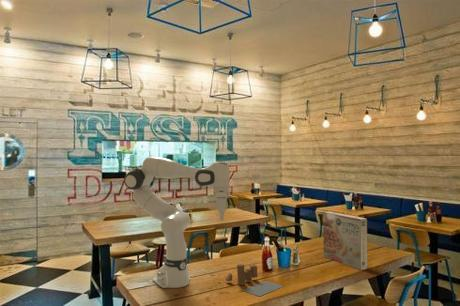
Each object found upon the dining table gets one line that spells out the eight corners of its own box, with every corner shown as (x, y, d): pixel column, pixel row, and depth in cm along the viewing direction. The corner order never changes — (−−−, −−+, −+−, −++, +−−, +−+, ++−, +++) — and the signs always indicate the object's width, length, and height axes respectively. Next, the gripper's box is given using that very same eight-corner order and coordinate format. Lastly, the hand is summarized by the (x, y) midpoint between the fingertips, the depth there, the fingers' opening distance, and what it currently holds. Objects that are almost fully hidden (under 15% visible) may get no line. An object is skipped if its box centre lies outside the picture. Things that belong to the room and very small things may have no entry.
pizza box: (323, 259, 245) (323, 212, 246) (329, 258, 248) (329, 211, 248) (360, 272, 217) (360, 219, 217) (367, 271, 220) (366, 218, 220)
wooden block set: (253, 278, 208) (252, 259, 209) (261, 281, 200) (260, 262, 201) (225, 283, 201) (224, 264, 201) (231, 287, 193) (230, 267, 193)
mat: (242, 290, 188) (242, 290, 188) (266, 281, 203) (266, 280, 203) (259, 296, 180) (259, 296, 180) (283, 286, 194) (283, 286, 194)
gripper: (215, 191, 200) (216, 216, 199) (215, 194, 179) (215, 222, 179) (227, 190, 200) (227, 216, 200) (227, 194, 180) (228, 222, 179)
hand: (221, 219), depth 189 cm, fingers open, 8 cm apart
